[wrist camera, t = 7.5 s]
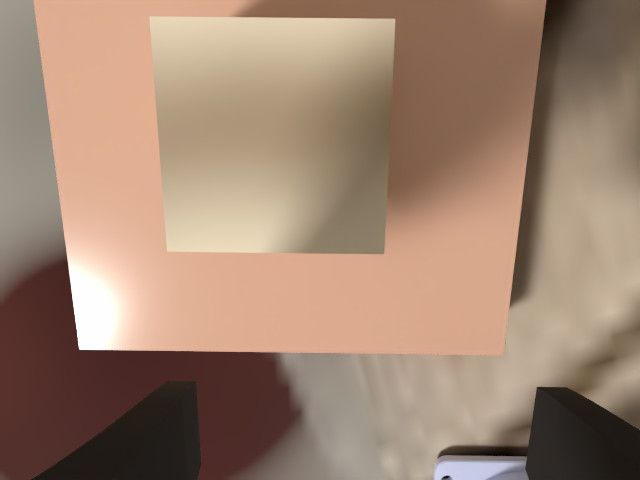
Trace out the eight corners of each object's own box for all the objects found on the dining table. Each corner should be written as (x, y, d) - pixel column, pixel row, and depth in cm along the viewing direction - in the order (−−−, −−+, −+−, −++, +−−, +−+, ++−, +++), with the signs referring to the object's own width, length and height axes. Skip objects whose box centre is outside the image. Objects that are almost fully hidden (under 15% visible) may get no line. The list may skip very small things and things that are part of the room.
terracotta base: (482, 324, 20) (503, 355, 18) (108, 319, 20) (79, 349, 18) (527, -106, 16) (563, -141, 14) (60, -110, 16) (13, -146, 14)
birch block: (366, 208, 16) (384, 254, 12) (213, 206, 16) (167, 251, 12) (372, 44, 15) (395, 18, 10) (205, 42, 15) (149, 16, 10)
